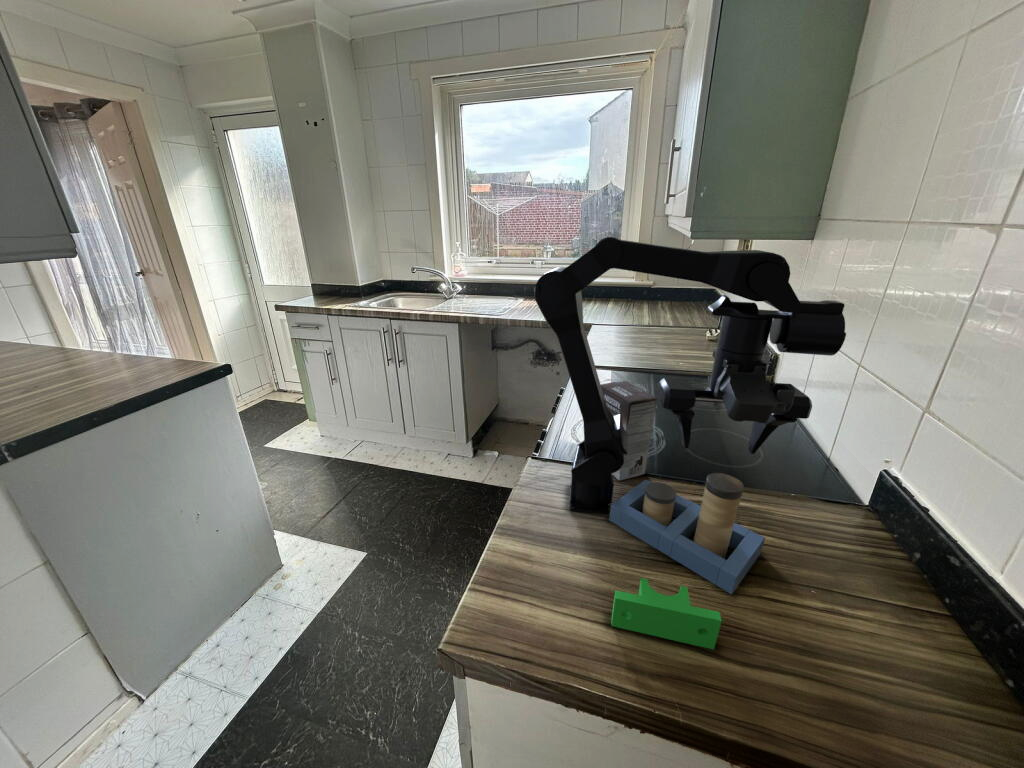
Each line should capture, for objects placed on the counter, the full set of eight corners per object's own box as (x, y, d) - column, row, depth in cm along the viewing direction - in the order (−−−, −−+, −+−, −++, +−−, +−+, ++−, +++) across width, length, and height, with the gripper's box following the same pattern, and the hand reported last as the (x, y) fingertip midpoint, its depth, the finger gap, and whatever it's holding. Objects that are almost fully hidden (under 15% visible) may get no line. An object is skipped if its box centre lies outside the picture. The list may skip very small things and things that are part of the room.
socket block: (608, 520, 64) (610, 504, 63) (643, 493, 71) (645, 479, 70) (731, 594, 51) (736, 577, 50) (760, 553, 58) (765, 537, 57)
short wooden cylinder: (642, 530, 62) (648, 498, 60) (638, 511, 66) (643, 480, 64) (673, 533, 62) (679, 501, 59) (667, 514, 66) (672, 483, 64)
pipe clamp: (707, 620, 48) (715, 592, 46) (713, 650, 45) (722, 621, 43) (611, 599, 51) (615, 571, 49) (610, 626, 47) (615, 597, 46)
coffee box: (591, 457, 82) (597, 383, 76) (617, 451, 84) (625, 379, 78) (619, 482, 74) (628, 402, 68) (646, 474, 76) (658, 396, 70)
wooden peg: (696, 561, 56) (712, 490, 52) (688, 538, 61) (702, 471, 56) (730, 565, 56) (749, 494, 51) (720, 542, 60) (736, 474, 56)
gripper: (681, 363, 48) (663, 474, 54) (855, 372, 45) (816, 488, 51) (663, 339, 58) (649, 435, 64) (804, 345, 56) (776, 444, 61)
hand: (718, 449), depth 60 cm, fingers open, 9 cm apart
